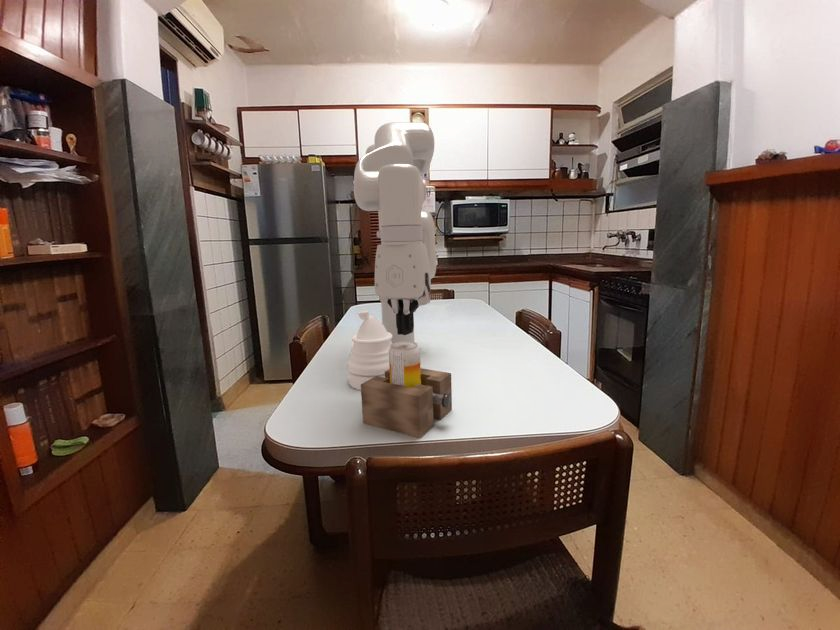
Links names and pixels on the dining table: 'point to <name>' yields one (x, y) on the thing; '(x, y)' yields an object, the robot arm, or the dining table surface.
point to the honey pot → (369, 351)
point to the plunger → (442, 399)
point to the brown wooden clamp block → (405, 402)
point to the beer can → (405, 364)
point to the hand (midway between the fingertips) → (405, 333)
